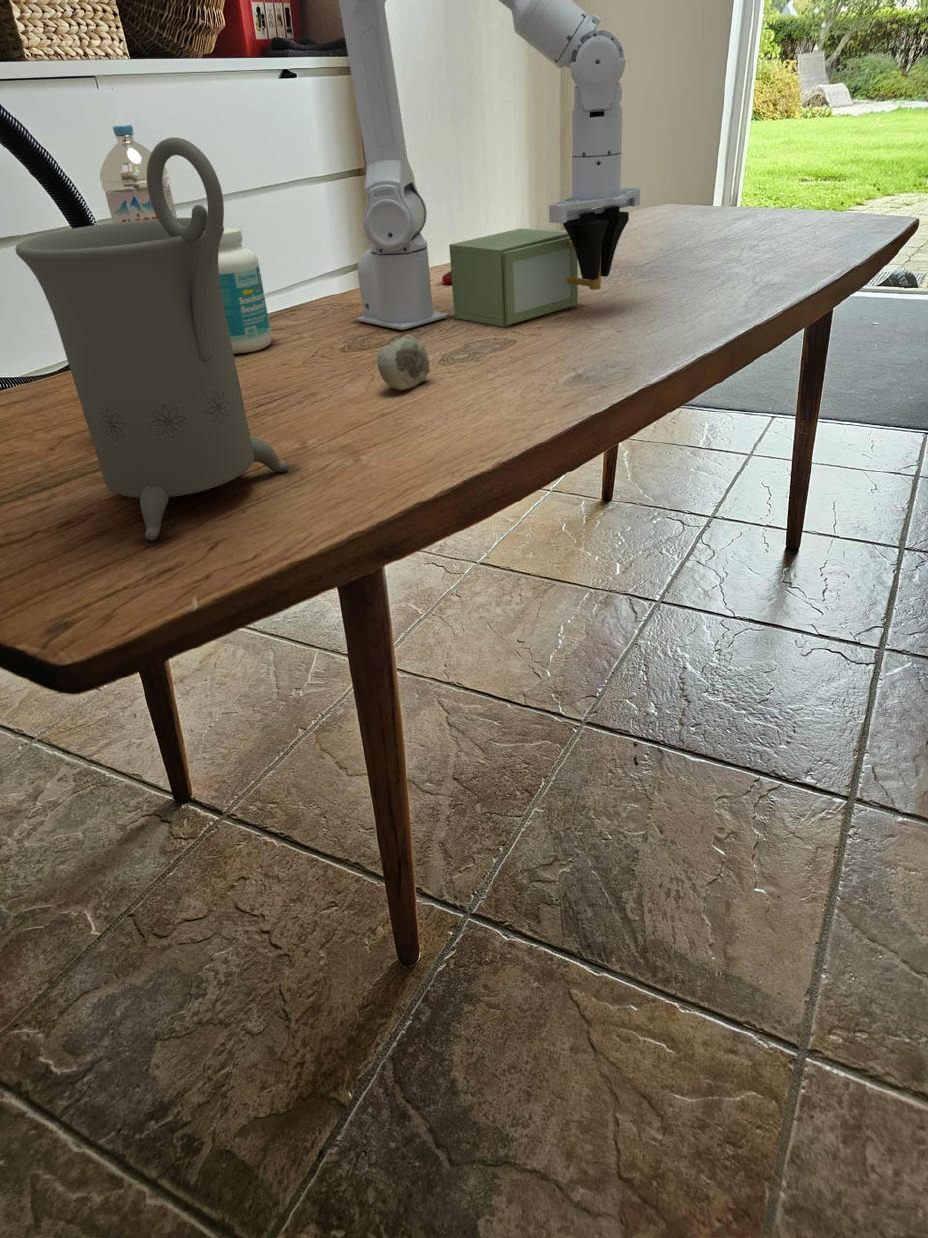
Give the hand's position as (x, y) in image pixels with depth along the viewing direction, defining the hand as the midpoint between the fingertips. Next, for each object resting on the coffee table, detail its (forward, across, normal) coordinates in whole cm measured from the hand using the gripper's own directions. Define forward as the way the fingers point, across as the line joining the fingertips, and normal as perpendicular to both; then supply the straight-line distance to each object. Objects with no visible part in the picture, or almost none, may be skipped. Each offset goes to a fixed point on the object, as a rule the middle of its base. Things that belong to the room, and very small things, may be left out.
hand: (595, 277), depth 108 cm
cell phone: (+4, +10, +32) cm, 34 cm away
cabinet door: (+4, -5, +2) cm, 7 cm away
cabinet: (+4, -5, +10) cm, 12 cm away
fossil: (+5, -34, -3) cm, 35 cm away
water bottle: (+5, -46, +24) cm, 52 cm away
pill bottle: (+5, -36, +27) cm, 45 cm away
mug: (+4, -62, -12) cm, 64 cm away
